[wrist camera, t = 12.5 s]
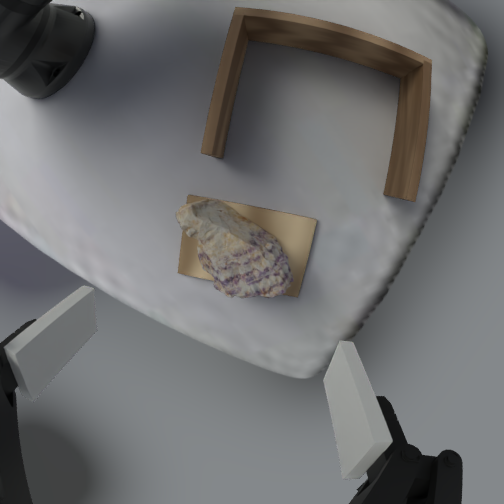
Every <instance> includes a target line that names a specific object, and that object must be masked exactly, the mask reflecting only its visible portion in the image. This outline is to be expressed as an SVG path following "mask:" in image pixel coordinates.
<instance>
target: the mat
mask: <svg viewBox="0 0 504 504" xmlns="http://www.w3.org/2000/svg"><path fill="white" fill-rule="evenodd" d="M206 199H211V198H205V197H199V196H193V195H188V197H187V204H188V203H193V202H196V201H201V200H206ZM213 200H217V199H213ZM220 201H221V202H223V203H225V204H227V205H228V206H230V207H231V208H233V209H234V210H235V211H236V212H238V213H239V214H240V215H242V216H244V217H245V218H248V219H249V220H250V221H251V222H253V223H254V224H256V225H258V226H259V227H261V228H262V229H264V230H265V231H267V232H268V233H269V234H271V235H273V236H274V237H276V240H277V241H278V243H279V245H280V246H281V247H282V251H283V252H284V253H285V254H286V255H287V257H288V261H289V266H290V269H291V272H292V274H293V282H290V284H291V286H290V287H289V288H287V289H286V292H285V293H284V294H282V295H288V296H293V297H298V295H299V291H300V287H301V283H302V280H303V276H304V272H305V268H306V264H307V260H308V256H309V252H310V248H311V244H312V239H313V235H314V231H315V227H316V222H317V220H316V219H313V218H308V217H303V216H299V215H294V214H289V213H284V212H280V211H275V210H270V209H265V208H260V207H254V206H249V205H244V204H239V203H233V202H228V201H222V200H220ZM197 247H198V240H197V239H195V238H193V237H189V236H188V235H187V234H186V232H185V231H184V230H183V233H182V241H181V249H180V257H179V267H178V273H180V274H184V275H189V276H193V277H198V278H203V279H207V280H212V281H214V278H213V276H212V275H211V274H209V273H208V272H206V271H204V270H203V269H202V265H201V264H200V260H199V257H198V250H197Z"/></svg>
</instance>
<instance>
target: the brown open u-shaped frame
mask: <svg viewBox="0 0 504 504" xmlns="http://www.w3.org/2000/svg"><path fill="white" fill-rule="evenodd" d="M248 40H250V41H258V42H265V43H272V44H278V45H284V46H290V47H295V48H300V49H305V50H309V51H314V52H318V53H322V54H326V55H330V56H334V57H337V58H341V59H344V60H348V61H351V62H355V63H358V64H361V65H364V66H367V67H370V68H373V69H376V70H379V71H381V72H384V73H387V74H389V75H392V76H395V77H397V78H400V91H399V101H398V110H397V118H396V125H395V132H394V139H393V146H392V152H391V157H390V163H389V169H388V174H387V179H386V184H385V189H384V193H383V194H384V195H387V196H391V197H395V198H400V199H404V200H408V201H412V202H415V200H416V196H417V191H418V186H419V181H420V176H421V170H422V164H423V158H424V151H425V144H426V137H427V129H428V119H429V108H430V94H431V71H432V60H431V59H429V58H427V57H425V56H422V55H420V54H418V53H416V52H414V51H412V50H409V49H407V48H405V47H402V46H400V45H398V44H395V43H393V42H390V41H388V40H385V39H382V38H380V37H377V36H374V35H371V34H368V33H365V32H362V31H359V30H356V29H353V28H349V27H346V26H342V25H339V24H335V23H331V22H327V21H323V20H319V19H315V18H310V17H305V16H300V15H295V14H289V13H283V12H277V11H270V10H262V9H252V8H241V7H235V10H234V13H233V17H232V20H231V24H230V27H229V31H228V34H227V38H226V42H225V46H224V49H223V53H222V57H221V61H220V65H219V69H218V73H217V77H216V82H215V86H214V90H213V95H212V99H211V104H210V108H209V113H208V118H207V123H206V128H205V133H204V138H203V143H202V148H201V153H202V154H206V155H209V156H212V157H217V158H223V156H224V150H225V145H226V140H227V135H228V130H229V125H230V120H231V115H232V110H233V106H234V101H235V96H236V92H237V87H238V83H239V78H240V74H241V69H242V65H243V61H244V57H245V52H246V48H247V44H248Z"/></svg>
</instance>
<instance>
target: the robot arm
mask: <svg viewBox="0 0 504 504" xmlns="http://www.w3.org/2000/svg"><path fill="white" fill-rule="evenodd" d="M51 1H52V0H0V78H1V79H4V80H5V81H6V82H7V83H8V84H10V85H11V86H12V87H13V88H14V89H16V90H17V91H18V92H19V93H21V94H22V95H24V96H27V97H31V98H37V99H40V98H45V97H48V96H50V95H52V94H53V93H55V92H57V91H58V90H59V89H60V88H62V87H63V86H64V85H65V84H66V83H67V82H68V81H69V80H70V79H71V78H72V76H73V75H74V74H75V73H76V71H77V70H78V69H79V67H80V66H81V64H82V63H83V61H84V59H85V57H86V55H87V53H88V51H89V49H90V47H91V44H92V41H93V37H94V30H95V26H94V21H93V18H92V17H91V15H90V14H88V13H87V12H86V11H84V10H83V9H81V8H79V7H76V6H70V5H62V4H53V3H50V2H51ZM96 332H97V322H96V308H95V293H94V288H91V287H87V286H84V285H83V286H82V287H80V288H79V289H78V290H76V291H75V292H73V293H72V294H71V295H69V296H68V297H67V298H65V299H64V300H63V301H61V302H60V303H59V304H57V305H56V306H55V307H53V308H52V309H51V310H50V311H48V312H47V313H46V314H44V315H43V316H42V317H40V318H39V319H38V320H36V319H34V320H31V321H29V322H27V323H25V324H24V325H22V326H21V327H20V329H17V330H16V331H15V333H12V334H11V335H10V336H9V337H7V338H6V339H5V340H4V341H3V342H1V343H0V504H33V503H32V499H31V495H30V492H29V487H28V483H27V479H26V474H25V470H24V464H23V459H22V453H21V446H20V439H19V430H18V420H17V404H16V393H15V389H16V387H17V386H18V387H19V390H20V392H21V394H22V395H23V396H24V397H26V398H27V399H29V400H30V401H32V402H34V401H35V400H36V399H37V397H38V396H39V395H40V394H41V393H42V391H43V390H44V389H45V388H46V387H47V386H48V385H49V383H50V382H51V381H52V380H53V379H54V378H55V376H56V375H57V374H58V373H59V372H60V371H61V370H62V368H63V367H64V366H65V365H66V364H67V363H68V362H69V361H70V360H71V359H72V357H73V356H74V355H75V354H76V353H77V352H78V351H79V350H80V349H81V348H82V346H84V344H85V343H86V342H87V341H88V340H89V339H90V338H91V337H92V336H93V335H94V334H95V333H96ZM323 382H324V386H325V391H326V395H327V400H328V405H329V410H330V414H331V419H332V424H333V429H334V434H335V439H336V444H337V450H338V455H339V461H340V466H341V472H342V478H343V480H346V479H359V478H361V477H362V476H363V475H364V473H365V472H367V476H368V479H367V480H366V481H365V483H363V484H362V485H361V486H360V487H359V488H358V489H357V490H358V492H357V494H356V495H355V496H354V498H353V499H352V500H351V502H350V503H349V504H461V501H462V472H463V470H462V459H461V457H460V455H459V454H458V453H456V452H455V451H453V450H444V451H442V452H441V453H440V454H439V455H438V456H437V457H434V456H425V455H422V454H421V452H420V451H419V449H418V448H416V447H415V446H413V445H410V444H408V443H407V441H406V438H405V436H404V433H403V431H402V428H401V426H400V424H399V421H398V420H397V417H396V414H394V409H393V407H392V405H391V403H390V402H389V401H388V400H387V399H386V398H385V397H384V396H375V393H374V391H373V388H372V386H371V383H370V381H369V379H368V376H367V374H366V371H365V369H364V367H363V364H362V362H361V359H360V357H359V355H358V352H357V350H356V348H355V346H354V343H353V342H348V341H339V343H338V346H337V348H336V351H335V353H334V356H333V358H332V361H331V363H330V365H329V368H328V370H327V372H326V375H325V377H324V379H323Z"/></svg>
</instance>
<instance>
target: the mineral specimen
mask: <svg viewBox="0 0 504 504" xmlns="http://www.w3.org/2000/svg"><path fill="white" fill-rule="evenodd" d="M176 218H177V220H178V222H179V223H180V226H181V228H182V230H184V231H185V232H186V234H187V235H188V236H189V237H193V238H195V239H197V240H198V247H197V250H198V257H199V260H200V264H201V265H202V269H203V270H204V271H206V272H208V273H209V274H211V275H212V276H213V278H214V287H215V288H216V289H217V290H219V291H220V292H223V293H224V294H225V295H226V296H227V297H231V298H233V297H234V296H237V297H240V298H248V297H254V296H258V295H261V296H263V297H267V298H271V297H274V296H277V295H281V294H284V293H285V292H286V289H287V288H289V287H290V286H291V284H290V282H293V274H292V272H291V269H290V266H289V261H288V257H287V255H286V254H285V253H284V252H283V251H282V247H281V246H280V245H279V243H278V241H277V240H276V237H274V236H273V235H271V234H269V233H268V232H267V231H265V230H264V229H262V228H261V227H259V226H258V225H256V224H254V223H253V222H251V221H250V220H249V219H248V218H245V217H244V216H242V215H240V214H239V213H238V212H236V211H235V210H234V209H233V208H231V207H230V206H228V205H227V204H225V203H223V202H221V201H220V200H218V199H217V200H213V199H206V200H201V201H196V202H193V203H188V204H186V205H183V206H181V208H180V209H179V212H176Z"/></svg>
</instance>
